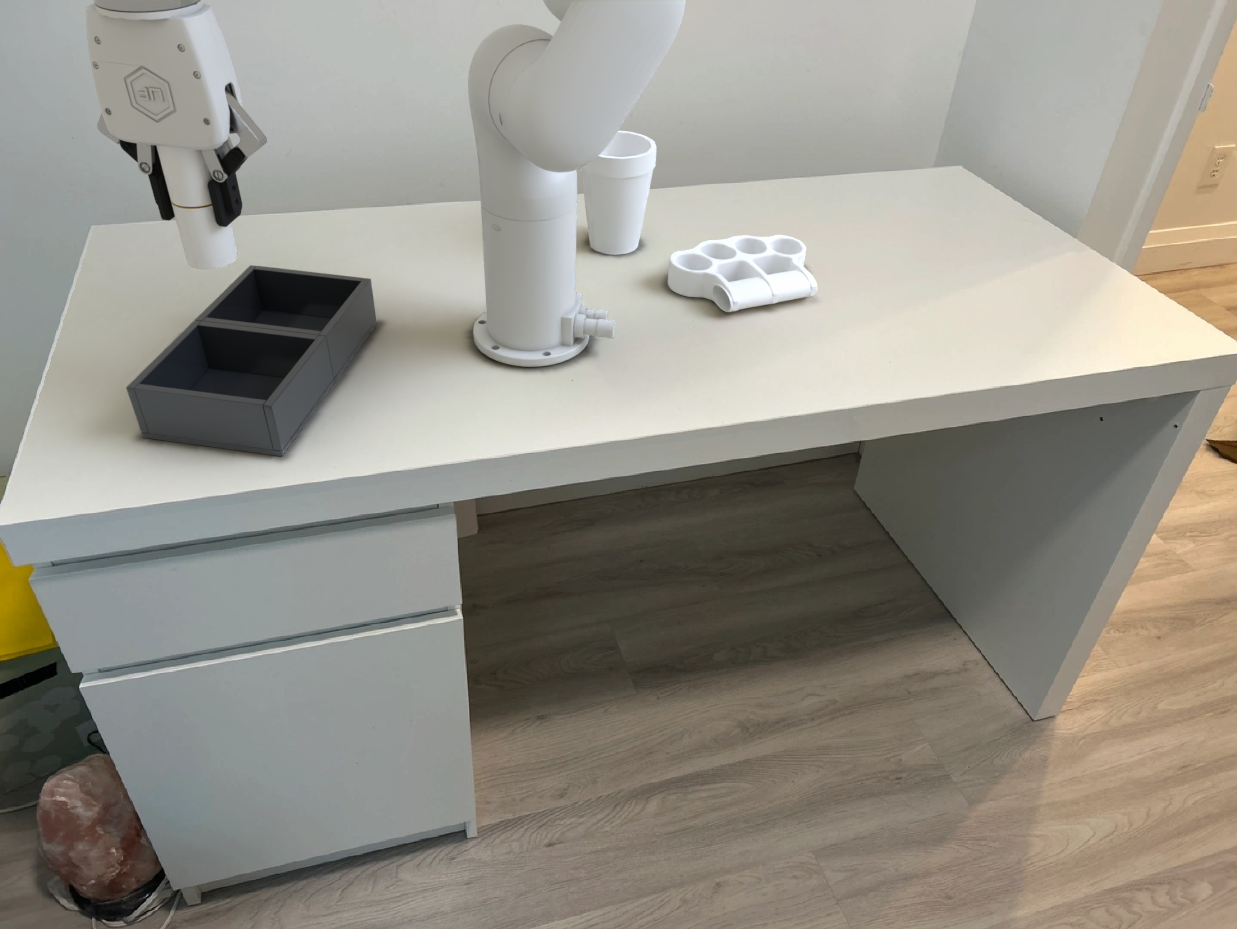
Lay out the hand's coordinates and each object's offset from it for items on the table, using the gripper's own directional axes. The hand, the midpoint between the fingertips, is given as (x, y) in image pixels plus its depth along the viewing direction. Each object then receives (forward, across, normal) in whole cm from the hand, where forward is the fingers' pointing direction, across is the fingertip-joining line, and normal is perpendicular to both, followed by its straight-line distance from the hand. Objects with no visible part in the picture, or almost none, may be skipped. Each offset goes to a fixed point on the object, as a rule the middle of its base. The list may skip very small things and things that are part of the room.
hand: (202, 215), depth 83 cm
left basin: (+19, +1, -3) cm, 19 cm away
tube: (+4, 0, 0) cm, 4 cm away
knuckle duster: (+19, +47, +35) cm, 61 cm away
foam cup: (+19, +30, +42) cm, 55 cm away
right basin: (+19, +1, +10) cm, 21 cm away
